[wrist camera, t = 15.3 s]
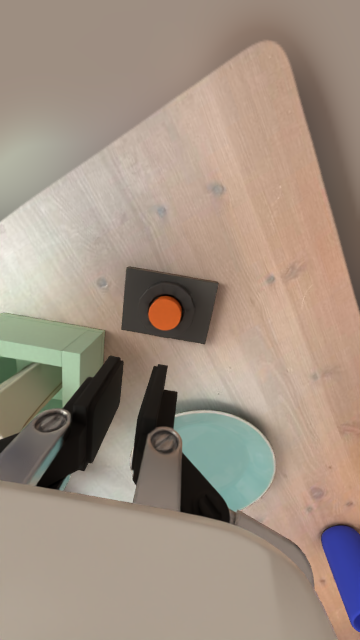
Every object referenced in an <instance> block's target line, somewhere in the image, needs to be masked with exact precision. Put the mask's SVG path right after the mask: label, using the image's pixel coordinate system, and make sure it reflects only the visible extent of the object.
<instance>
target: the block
mask: <svg viewBox="0 0 360 640" xmlns="http://www.w3.org/2000/svg"><path fill="white" fill-rule="evenodd" d="M218 284H219V283H218V282H215V281H210V280H204V279H198V278H193V277H187V276H181V275H175V274H170V273H164V272H158V271H153V270H147V269H141V268H136V267H130V266H129V267H127V269H126V281H125V292H124V304H123V316H122V328H121V330H126V331H132V332H138V333H144V334H149V335H155V336H159V337H165V338H172V339H178V340H184V341H189V342H195V343H201V344H205V342H206V338H207V333H208V329H209V324H210V320H211V315H212V311H213V306H214V302H215V297H216V293H217V289H218ZM161 296H170V297H173V298H175V299H176V300H177V301H178V302H179V303H180V305H181V309H182V314H181V319H180V322H179V324H178V325H177V326H176V327H175V328H173V329H171V330H160V329H158V328H156V327H155V326H153V324H152V323H151V322H150V320H149V315H148V314H149V309H150V307H151V305H152V304H153V302H154V301H155V300H156V299H157V298H159V297H161Z"/></svg>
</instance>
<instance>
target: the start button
mask: <svg viewBox="0 0 360 640" xmlns="http://www.w3.org/2000/svg"><path fill="white" fill-rule="evenodd" d="M181 314H182V309H181V305H180V303H179V302H178V301H177V300H176V299H175V298H173V297H170V296H161V297H159V298H157V299H156V300H155V301H154V302H153V304H152V305H151V307H150V309H149V314H148V315H149V320H150V322H151V323H152V324H153V326H155V327H156V328H158V329H160V330H171V329H173V328H175V327H176V326H177V325H178V324H179V322H180V319H181Z"/></svg>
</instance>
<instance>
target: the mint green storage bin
mask: <svg viewBox="0 0 360 640" xmlns="http://www.w3.org/2000/svg"><path fill="white" fill-rule="evenodd" d="M104 339H105V330H100V329H94V328H89V327H83V326H77V325H72V324H66V323H60V322H54V321H49V320H43V319H37V318H31V317H26V316H20V315H14V314H9V313H1V314H0V384H1V383H3V382H4V381H6V380H7V379H8V378H10V377H11V376H13V375H14V374H16V373H17V372H19V371H20V370H21V369H23V368H24V367H26V366H27V365H29V364H31V363H33V362H36V363H42V364H48V365H54V366H59V367H62V388H61V389H60V390H59V392H58V393H57V394H56V395H55V396H54V397H53V398H52V399H51V400H50V401H49V402H48V403H47V404H46V405H45V406H44V407H43V408H42V409H41V410H40V411H39V412H38V414H40V413H41V412H43V411H46V410H49V409H54V408H61V409H62V408H63V407H64V406H65V405H66V403H67V402H68V401H69V400H70V398H71V397H72V396H73V395H74V393H75V392H76V391H77V390H78V388H79V387H80V386H81V385H82V383H83V382H84V381H85V380H86V378H87V377H94V376H95V375H96V373H97V372H98V371H99V369H100V368H101V367H102V365H103V357H104ZM38 414H37V415H38ZM37 415H36V416H37ZM36 416H35V417H36ZM30 422H31V421H30ZM30 422H29V423H30ZM29 423H28V424H29ZM28 424H27V425H28ZM27 425H26V426H27ZM26 426H25V427H26ZM25 427H24V428H25ZM24 428H23V429H24ZM23 429H22V430H23ZM22 430H21V431H22ZM21 431H20V432H21Z"/></svg>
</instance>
